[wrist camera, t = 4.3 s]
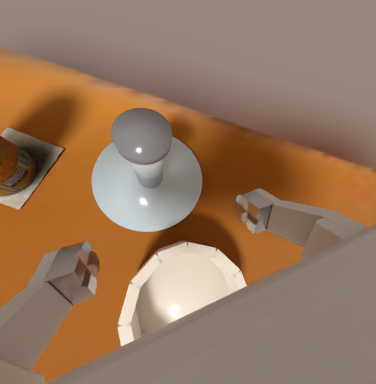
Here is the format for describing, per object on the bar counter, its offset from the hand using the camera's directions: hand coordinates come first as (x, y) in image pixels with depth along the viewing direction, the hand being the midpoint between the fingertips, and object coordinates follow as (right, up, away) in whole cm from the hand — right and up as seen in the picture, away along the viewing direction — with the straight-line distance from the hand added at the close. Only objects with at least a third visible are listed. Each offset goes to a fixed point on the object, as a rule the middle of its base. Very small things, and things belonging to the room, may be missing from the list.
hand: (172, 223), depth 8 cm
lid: (-4, +3, +12) cm, 14 cm away
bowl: (0, -10, +9) cm, 14 cm away
